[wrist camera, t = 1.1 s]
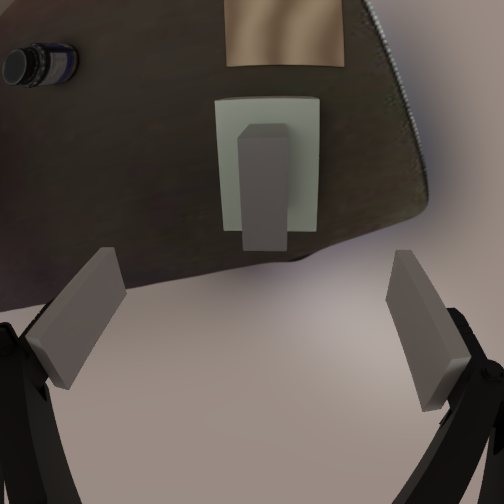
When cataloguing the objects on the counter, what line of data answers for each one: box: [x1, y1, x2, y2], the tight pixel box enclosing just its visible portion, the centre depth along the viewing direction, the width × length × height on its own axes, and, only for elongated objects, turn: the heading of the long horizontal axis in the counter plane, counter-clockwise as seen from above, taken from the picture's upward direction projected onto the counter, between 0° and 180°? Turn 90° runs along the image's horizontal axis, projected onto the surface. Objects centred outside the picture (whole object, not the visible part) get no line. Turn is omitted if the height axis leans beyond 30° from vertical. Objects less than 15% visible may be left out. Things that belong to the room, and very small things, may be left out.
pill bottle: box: [2, 43, 78, 88], centre depth 30 cm, size 6×6×11 cm
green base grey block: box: [215, 98, 319, 251], centre depth 29 cm, size 10×14×11 cm
